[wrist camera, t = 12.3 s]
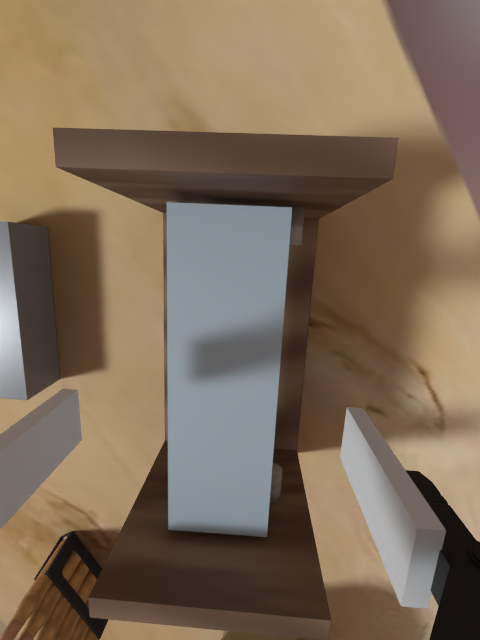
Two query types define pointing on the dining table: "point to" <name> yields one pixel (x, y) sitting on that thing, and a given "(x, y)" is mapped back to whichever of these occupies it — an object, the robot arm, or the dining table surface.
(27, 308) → the grey rectangular block
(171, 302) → the shelf board
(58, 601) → the ammunition clip
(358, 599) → the dining table surface
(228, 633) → the planter bowl
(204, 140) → the shelf frame
